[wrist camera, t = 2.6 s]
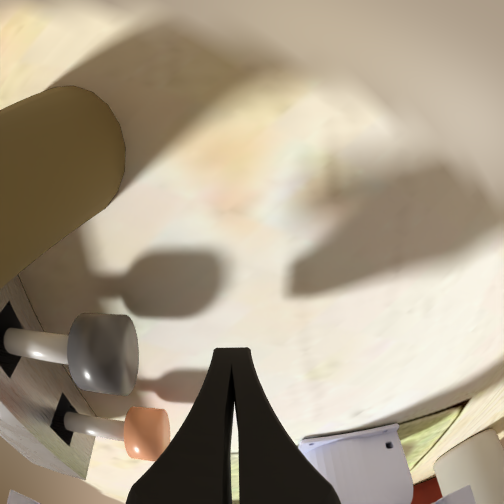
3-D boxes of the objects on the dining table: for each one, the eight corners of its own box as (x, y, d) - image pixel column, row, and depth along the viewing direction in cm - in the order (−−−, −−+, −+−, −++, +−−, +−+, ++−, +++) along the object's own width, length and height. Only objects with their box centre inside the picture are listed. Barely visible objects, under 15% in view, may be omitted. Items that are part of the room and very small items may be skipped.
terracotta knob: (160, 398, 17) (153, 449, 14) (172, 424, 19) (167, 469, 15) (65, 386, 16) (49, 429, 13) (84, 413, 18) (73, 452, 15)
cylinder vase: (425, 461, 34) (458, 583, 12) (493, 420, 30) (537, 541, 8) (438, 467, 39) (465, 567, 17) (494, 433, 35) (529, 532, 14)
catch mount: (1, 228, 12) (-69, 298, 7) (99, 420, 21) (85, 480, 16) (-50, 233, 12) (-107, 289, 6) (50, 410, 21) (32, 463, 16)
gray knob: (125, 298, 13) (101, 359, 10) (143, 352, 15) (128, 411, 11) (13, 292, 12) (-20, 339, 9) (37, 341, 14) (14, 387, 11)
